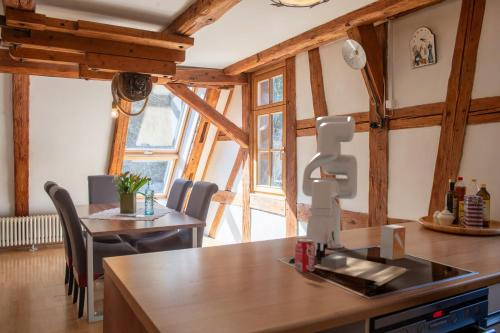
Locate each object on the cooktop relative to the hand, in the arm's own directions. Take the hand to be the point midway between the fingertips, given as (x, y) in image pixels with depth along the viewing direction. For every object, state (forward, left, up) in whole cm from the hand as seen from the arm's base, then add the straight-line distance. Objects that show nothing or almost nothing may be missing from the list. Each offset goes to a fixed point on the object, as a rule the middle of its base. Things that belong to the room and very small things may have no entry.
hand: (320, 260), depth 156 cm
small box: (+15, +32, -2) cm, 35 cm away
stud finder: (+6, 0, -1) cm, 6 cm away
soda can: (+1, -12, -2) cm, 12 cm away
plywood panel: (+14, +4, -2) cm, 15 cm away
